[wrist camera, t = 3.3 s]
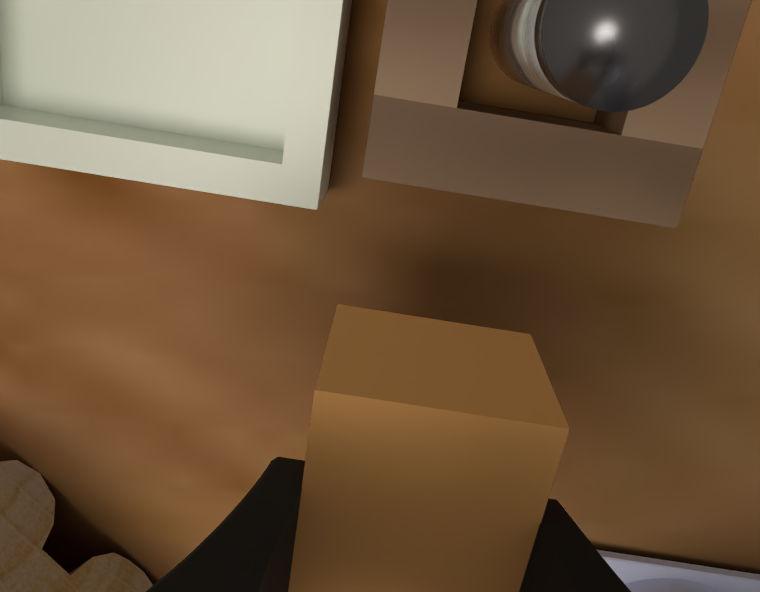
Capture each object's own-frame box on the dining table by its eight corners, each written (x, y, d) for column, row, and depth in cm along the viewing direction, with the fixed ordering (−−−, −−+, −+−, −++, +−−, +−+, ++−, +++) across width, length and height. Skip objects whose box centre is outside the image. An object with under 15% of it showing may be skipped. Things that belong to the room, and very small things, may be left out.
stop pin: (575, 93, 18) (678, 123, 11) (481, 77, 18) (526, 98, 11) (601, -12, 17) (732, -48, 10) (501, -29, 17) (565, -77, 10)
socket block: (643, 205, 19) (676, 228, 17) (367, 160, 19) (361, 177, 16) (741, -115, 16) (798, -141, 14) (416, -171, 16) (417, -208, 14)
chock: (471, 559, 16) (487, 696, 12) (304, 534, 16) (277, 665, 12) (530, 334, 14) (569, 429, 10) (337, 303, 13) (315, 390, 10)
